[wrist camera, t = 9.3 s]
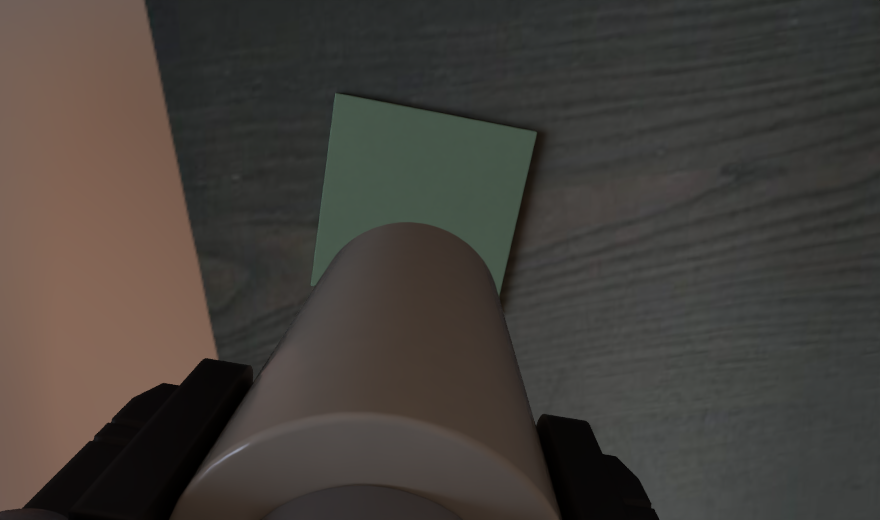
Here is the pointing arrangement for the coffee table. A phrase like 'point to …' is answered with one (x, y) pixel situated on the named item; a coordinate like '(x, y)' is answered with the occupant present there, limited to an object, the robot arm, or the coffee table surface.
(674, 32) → the coffee table surface
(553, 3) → the coffee table surface
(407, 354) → the spice bottle
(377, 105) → the mat
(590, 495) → the robot arm
